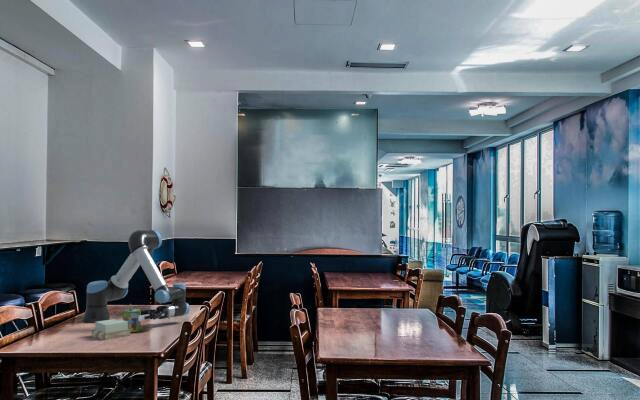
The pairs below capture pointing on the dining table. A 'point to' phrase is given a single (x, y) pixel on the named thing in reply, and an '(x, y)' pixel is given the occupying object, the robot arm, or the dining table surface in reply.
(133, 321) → the chalk box
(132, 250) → the robot arm
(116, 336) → the bottom block
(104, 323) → the top block
